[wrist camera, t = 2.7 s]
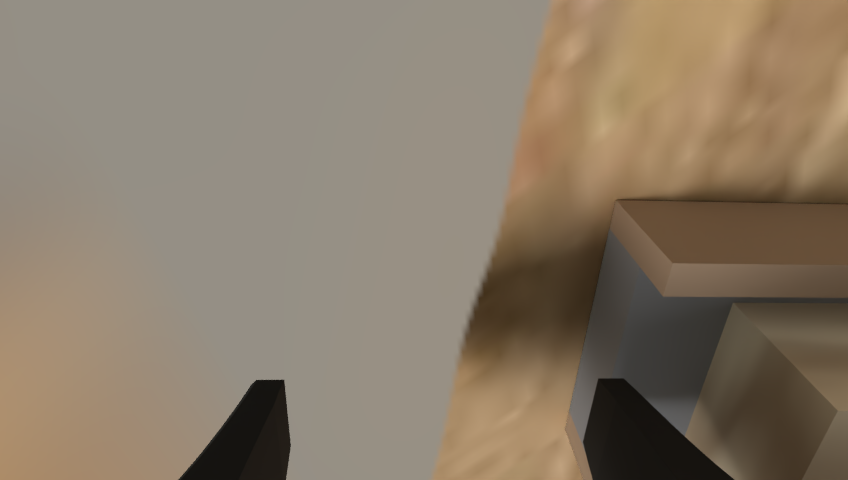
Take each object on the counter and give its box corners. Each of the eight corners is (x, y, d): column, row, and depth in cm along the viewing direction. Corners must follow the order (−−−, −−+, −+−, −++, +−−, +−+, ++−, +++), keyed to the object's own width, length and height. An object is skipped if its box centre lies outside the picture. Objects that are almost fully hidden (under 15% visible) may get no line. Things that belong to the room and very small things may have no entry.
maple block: (838, 436, 16) (950, 557, 12) (684, 438, 15) (758, 562, 12) (910, 303, 13) (1064, 409, 10) (732, 302, 13) (838, 411, 10)
